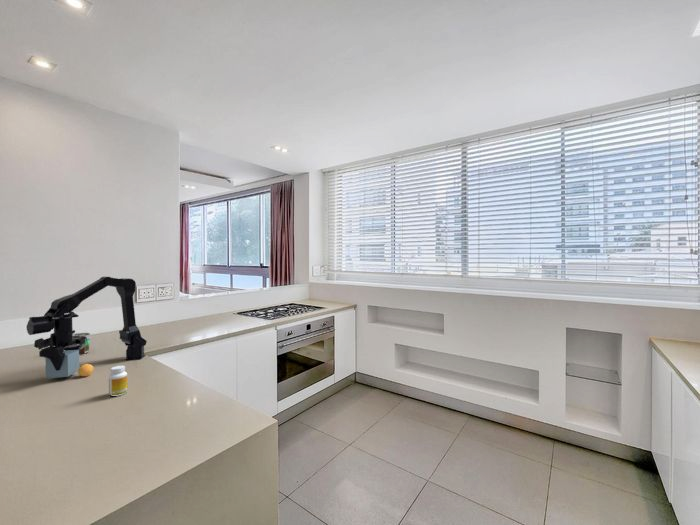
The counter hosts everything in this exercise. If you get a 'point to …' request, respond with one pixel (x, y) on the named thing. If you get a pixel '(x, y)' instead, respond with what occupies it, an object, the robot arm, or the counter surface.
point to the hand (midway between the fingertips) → (64, 367)
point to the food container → (85, 347)
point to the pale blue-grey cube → (64, 365)
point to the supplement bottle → (118, 381)
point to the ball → (85, 370)
